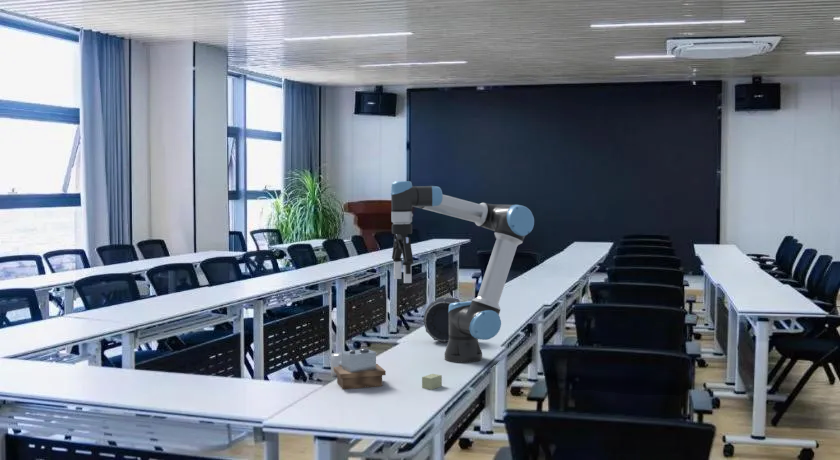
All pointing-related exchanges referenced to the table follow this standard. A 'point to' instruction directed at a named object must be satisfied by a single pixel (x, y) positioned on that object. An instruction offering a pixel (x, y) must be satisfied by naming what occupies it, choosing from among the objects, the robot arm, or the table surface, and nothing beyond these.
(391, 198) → the robot arm
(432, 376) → the olive painted block
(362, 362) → the housing
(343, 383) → the walnut stand
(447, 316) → the dark grey drum
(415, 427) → the table surface
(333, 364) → the grey metal can
